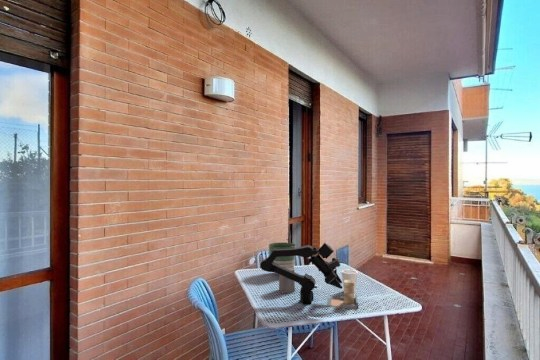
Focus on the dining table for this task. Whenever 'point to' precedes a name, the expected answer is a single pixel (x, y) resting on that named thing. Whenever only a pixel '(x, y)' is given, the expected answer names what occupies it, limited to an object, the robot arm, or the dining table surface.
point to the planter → (284, 260)
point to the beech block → (349, 292)
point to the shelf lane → (342, 303)
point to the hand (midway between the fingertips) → (341, 285)
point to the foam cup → (350, 276)
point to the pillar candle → (286, 283)
